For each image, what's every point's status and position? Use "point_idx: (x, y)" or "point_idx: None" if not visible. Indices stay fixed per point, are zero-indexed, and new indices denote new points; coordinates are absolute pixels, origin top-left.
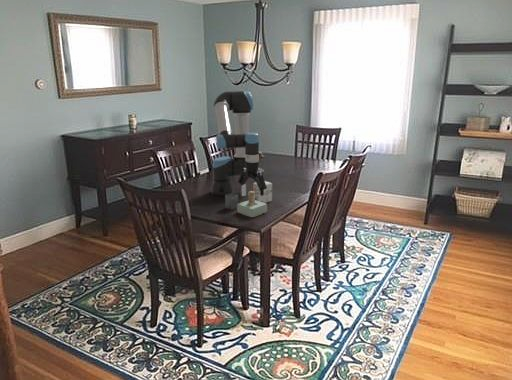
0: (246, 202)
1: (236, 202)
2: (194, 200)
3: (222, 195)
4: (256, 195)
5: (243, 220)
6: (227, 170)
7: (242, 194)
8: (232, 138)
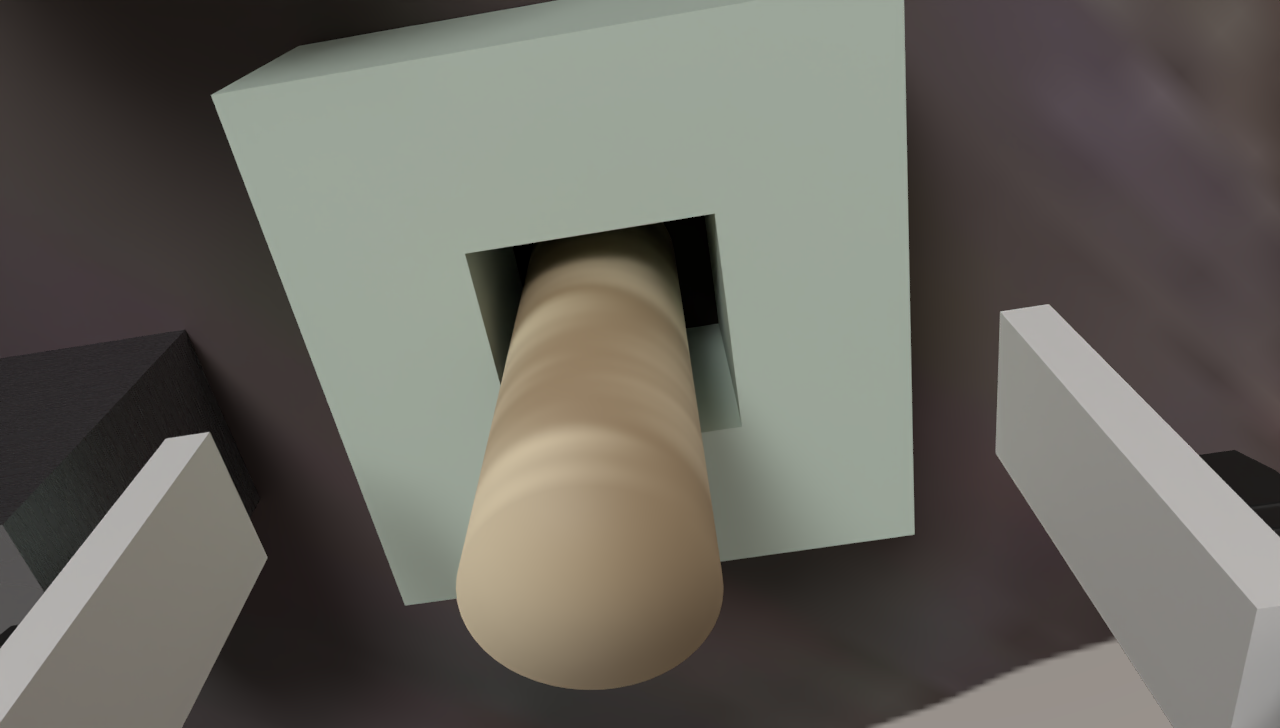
0: (410, 392)
1: (145, 460)
2: None
3: None
4: None
5: (858, 587)
6: None
7: (244, 596)
8: None
